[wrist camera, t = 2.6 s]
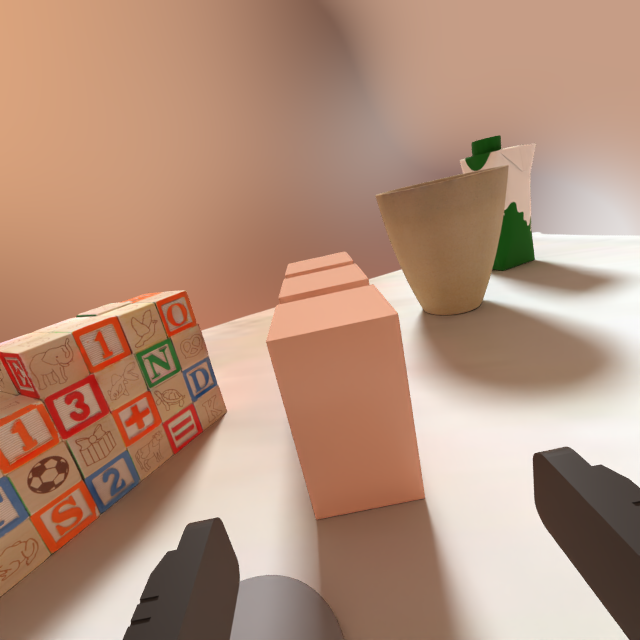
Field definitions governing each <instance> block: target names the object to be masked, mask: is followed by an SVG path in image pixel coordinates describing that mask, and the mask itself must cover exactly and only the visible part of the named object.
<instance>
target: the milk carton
mask: <svg viewBox="0 0 640 640" xmlns="http://www.w3.org/2000/svg"><path fill="white" fill-rule="evenodd" d="M535 147H536V143H534V144H529V145H519V146H514V147H509V148H504V149H501V137H500V136H494V137H490V138H485V139H482V140H478V141H475V142H472V154H473V155H472V157H468V158H465V159H463V160H460V164H461V168H462V171H463V174H464V173H469V172H474V171H478V170H483V169H488V168H493V167H498V166H504V165H509V168H508V180H507V190H506V199H505V208H504V215H503V221H502V227H501V233H500V238H499V242H498V247H497V252H496V256H495V260H494V264H493V268H492V269H493V270H502V271H504V270H507V269H509V268H512V267H515V266H518V265H521V264H524V263H527V262H529V261H532V260H535V257H534V248H533V240H532V232H531V193H530V192H531V189H530V187H531V186H530V174H531V173H530V172H531V167H532V162H533V157H534V151H535Z"/></svg>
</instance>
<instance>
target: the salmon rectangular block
mask: <svg viewBox="0 0 640 640" xmlns="http://www.w3.org/2000/svg"><path fill="white" fill-rule="evenodd" d="M368 285H369V280H368V278H367V276H366V275H365V274H364V273H363V272H362V270H361V269H360V268H359V267H358V266H357V265H356V264H352V265H347V266H343V267H338V268H333V269H329V270H324V271H320V272H315V273H310V274H306V275H301V276H297V277H292V278H287V279H284V281H283V284H282V288H281V291H280V295H279V301H280V304H284V303H289V302H293V301H298V300H303V299H307V298H312V297H317V296H321V295H326V294H331V293H335V292H340V291H344V290H349V289H354V288H358V287H363V286H368Z"/></svg>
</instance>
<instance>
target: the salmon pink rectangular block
mask: <svg viewBox="0 0 640 640" xmlns="http://www.w3.org/2000/svg"><path fill="white" fill-rule="evenodd" d="M266 343H267V347H268V350H269V354H270V357H271V361H272V364H273V368H274V372H275V375H276V379H277V382H278V386H279V389H280V393H281V396H282V400H283V404H284V407H285V411H286V414H287V418H288V421H289V425H290V429H291V432H292V436H293V439H294V443H295V446H296V450H297V453H298V457H299V461H300V464H301V468H302V471H303V475H304V478H305V482H306V485H307V489H308V493H309V496H310V500H311V503H312V507H313V510H314V514H315V517H316V520H317V519H322V518H327V517H333V516H338V515H343V514H348V513H353V512H358V511H363V510H368V509H373V508H378V507H383V506H388V505H393V504H398V503H403V502H408V501H414V500H419V499H424V498H425V494H424V487H423V480H422V473H421V466H420V460H419V453H418V446H417V439H416V432H415V426H414V419H413V412H412V405H411V398H410V392H409V385H408V378H407V371H406V364H405V358H404V351H403V344H402V337H401V330H400V324H399V317H398V313H397V312H396V311H395V310H394V308H393V307H392V306H391V305H390V304H389V302H388V301H387V300H386V299H385V298H384V296H383V295H382V294H381V293H380V292H379V291H378V289H377V288H376V287H375V286H374V285H373V284H372V285H368V286H363V287H358V288H354V289H349V290H344V291H340V292H335V293H331V294H326V295H321V296H317V297H312V298H307V299H303V300H298V301H293V302H289V303H284V304H279V305H277V306H276V309H275V312H274V316H273V319H272V323H271V326H270V330H269V333H268V337H267V340H266Z"/></svg>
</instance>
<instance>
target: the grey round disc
mask: <svg viewBox="0 0 640 640" xmlns="http://www.w3.org/2000/svg"><path fill="white" fill-rule="evenodd" d="M230 640H344V638H343V635H342V632H341V629H340V627H339V624H338V622H337V619H336V617H335V616H334V614H333V612H332V610H331V608H330V607H329V606H328V604H327V603H326V602H325V600H324V599H323V598H322V597H321V596H320V595H319V594H318V593H317V592H316V591H315V590H314V589H312V588H311V587H309V586H308V585H307V584H305V583H303V582H301V581H299V580H296V579H293V578H290V577H286V576H280V575H265V576H257V577H253V578H249V579H246V580H243V581H241V582H239V591H238V597H237V602H236V608H235V613H234V619H233V625H232V630H231V636H230Z"/></svg>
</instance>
